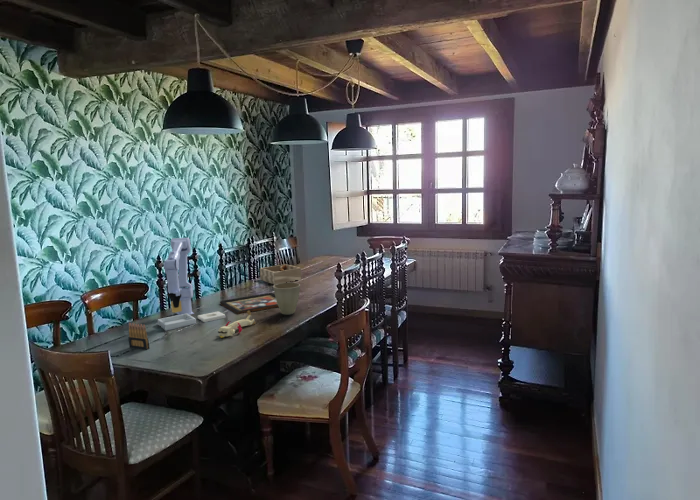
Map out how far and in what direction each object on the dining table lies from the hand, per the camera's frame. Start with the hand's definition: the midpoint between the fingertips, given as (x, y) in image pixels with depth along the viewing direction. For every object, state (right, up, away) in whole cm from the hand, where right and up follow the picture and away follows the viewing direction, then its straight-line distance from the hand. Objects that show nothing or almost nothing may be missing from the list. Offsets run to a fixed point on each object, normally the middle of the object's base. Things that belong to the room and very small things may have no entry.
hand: (175, 306), depth 255 cm
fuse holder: (+17, -8, +10) cm, 21 cm away
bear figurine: (+42, +7, +101) cm, 110 cm away
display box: (+41, +8, +104) cm, 112 cm away
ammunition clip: (-5, -15, -33) cm, 37 cm away
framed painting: (+36, -4, +37) cm, 52 cm away
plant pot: (+58, -5, +16) cm, 60 cm away
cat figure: (+36, -11, -14) cm, 40 cm away
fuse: (0, -3, +1) cm, 3 cm away
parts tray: (0, -10, +1) cm, 10 cm away
